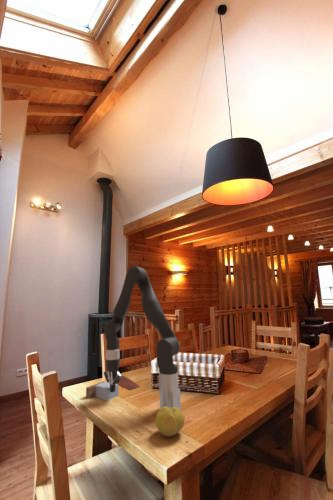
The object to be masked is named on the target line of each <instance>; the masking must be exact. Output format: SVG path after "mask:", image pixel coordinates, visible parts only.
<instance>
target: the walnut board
mask: <svg viewBox="0 0 333 500" xmlns="http://www.w3.org/2000/svg"><path fill="white" fill-rule="evenodd" d="M103 382H105V381H101V382H97V383H95V384H92V385H90V386H86V387H85V388H86V389H85V391H86V392H85V398H87V399H89V400H90V399H92V398H95V397H96V396H95V385H97V384H100V383H103Z"/></svg>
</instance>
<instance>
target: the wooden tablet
mask: <svg viewBox="0 0 333 500" xmlns="http://www.w3.org/2000/svg"><path fill="white" fill-rule="evenodd" d="M117 384H118V386H120V387H121V388H124V389H125V390H129V391H132V390H136V389H139V388H141V386H140V384H139V383H136V382H135V381H134V380H132V379H131V378H129V377H127V376H125V375H122V377H121V379H120V381H119V382H118V383H117Z"/></svg>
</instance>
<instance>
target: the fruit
mask: <svg viewBox="0 0 333 500" xmlns="http://www.w3.org/2000/svg"><path fill="white" fill-rule="evenodd" d="M154 417H155V419H154V423H155V426H156V428H157V429H158V431H159V432H160V434H162V435H163V436H164V437H166V438H167V437H173V436H175V435H176V434H178V433H179V432H180V431H181V430H182V429H183V428H184V426H185V415H184V413H183V412H182V409H181V410H179V409H178V408H177V407H171V408H169V407H166V406H165V407H162V408H161V409H160V408H159V410H158V411H157V413H156V415H155V416H154Z"/></svg>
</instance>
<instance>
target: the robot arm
mask: <svg viewBox="0 0 333 500" xmlns="http://www.w3.org/2000/svg"><path fill="white" fill-rule="evenodd" d="M124 277H125V278H124V281H123V285H122V288H121V291H120V295H119V297H118V300H117V301H116V304H115V306H114V309H113V310H112V314H113V316H112V319H111V320H107V321H106V322H105V324H104V327H103V331H104V336H105V340H106V341H105V343H106V347H105V348H106V349H105V368H106V371H103V375H104V377H105V380H106V381H107V383H108V382H109V384H110V392H115V385H116V384H117V383H118V382H119V381H120V379H121V377H122V376H123V374H122V373H120V370H119V367H120V366H121V364H120V363H121V362H120V361H121V355H120V354H121V351H120V339H119V337H118V335H117V333H118V332H119V331H121V329H122V326H123V324H124V320H125V316H126V314H127V312H128V310H129V308H130V304H131V299H132V297H131V296H132V292H133V289H134V287H135V285H137V287H138V289H139V291H140V294H141V295H140V296H141V306H142V309H143V313H144V314H145V317H146V319H147V320H148V322H150V323H151V324H152V326H153V327H154V328H156V329H157V331H158V332H159V334H160V337H161V339H159V340H158V341H157V343H156V348H155V349H156V350H155V351H156V353H155V354H156V363H157V367H158V380H159V383H158V384H159V385H158V387H159V393H158V394H159V410H160V409H161V408H162V407H165V406H166V407H169V408H171V407H177V408H178V409H179V410H181V411H182V406H181V389H180V387H179V368H178V367H179V366H178V365H177V364H175V363H174V356H177V355H178V354H179V353H180V349H181V345H180V342H179V340H178V337H177V336H176V334H175V333H174V330H173V329H172V327H171V326H170V324H169V321H168V319H167V317H166V315H165V313H164V311H163V308H162V306H161V304H160V302H159V300H158V297H157V295H156V293H155V291H154V289H153V285H152V284H151V282H150V278H149V275H148V272H147V271H146V269H144V268H143V267H140V266H138V265H132V266H130V267H129V268H128V270H127V272H126V274H125V276H124Z"/></svg>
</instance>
